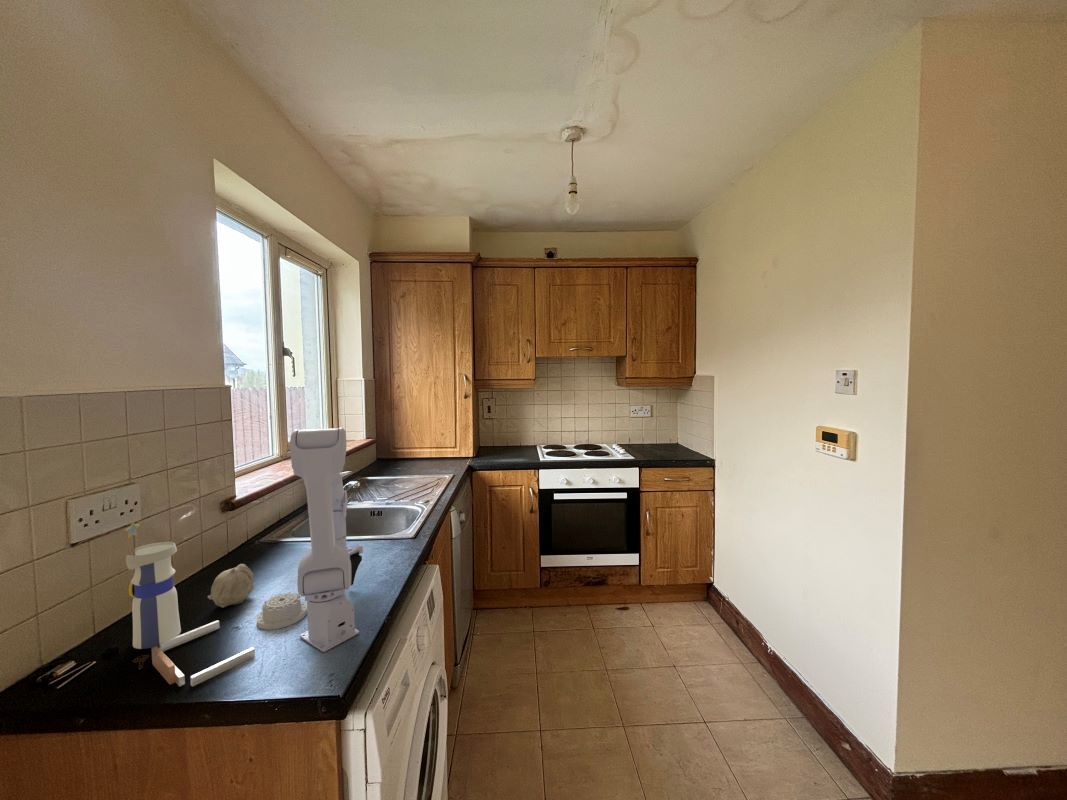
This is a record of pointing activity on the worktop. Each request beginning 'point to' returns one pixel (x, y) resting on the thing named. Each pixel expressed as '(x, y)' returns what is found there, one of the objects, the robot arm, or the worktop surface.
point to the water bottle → (153, 593)
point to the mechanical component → (281, 611)
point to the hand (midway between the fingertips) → (335, 590)
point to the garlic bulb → (232, 586)
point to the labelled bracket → (176, 675)
